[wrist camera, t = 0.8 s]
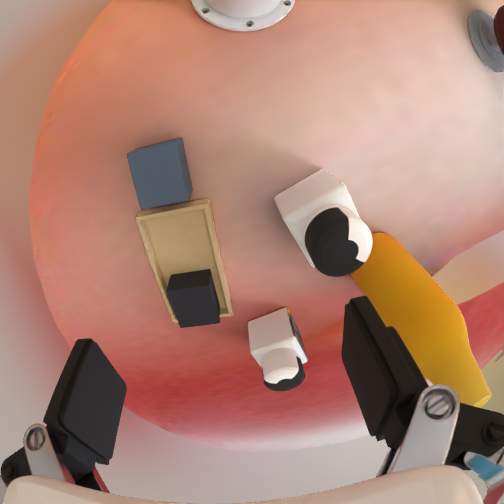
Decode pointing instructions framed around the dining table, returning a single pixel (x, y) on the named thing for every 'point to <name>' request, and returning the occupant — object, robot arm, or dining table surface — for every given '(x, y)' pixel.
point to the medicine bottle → (278, 349)
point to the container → (325, 224)
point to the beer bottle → (422, 318)
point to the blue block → (160, 173)
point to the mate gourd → (488, 38)
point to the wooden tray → (184, 247)
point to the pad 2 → (194, 298)
